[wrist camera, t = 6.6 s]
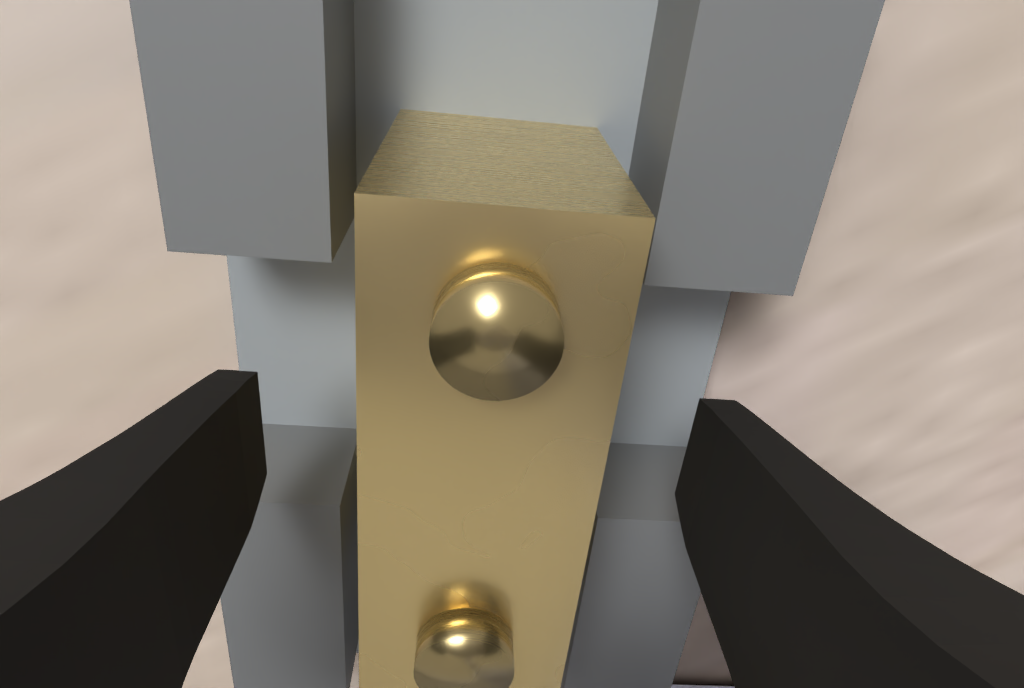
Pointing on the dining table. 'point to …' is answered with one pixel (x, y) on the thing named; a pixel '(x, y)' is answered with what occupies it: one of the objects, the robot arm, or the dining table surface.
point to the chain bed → (331, 251)
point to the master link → (485, 390)
